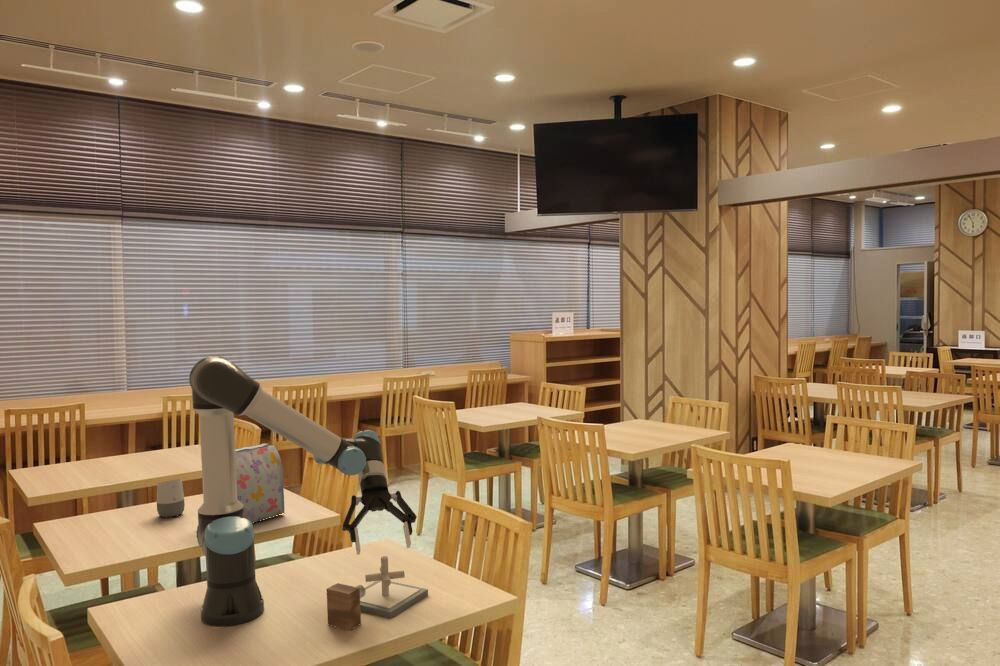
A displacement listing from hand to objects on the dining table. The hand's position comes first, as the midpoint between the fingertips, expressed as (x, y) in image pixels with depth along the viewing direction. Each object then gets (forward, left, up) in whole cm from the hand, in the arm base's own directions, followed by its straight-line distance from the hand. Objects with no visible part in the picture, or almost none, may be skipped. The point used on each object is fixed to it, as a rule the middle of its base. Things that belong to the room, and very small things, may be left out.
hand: (384, 549), depth 203 cm
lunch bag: (+31, +87, -12) cm, 93 cm away
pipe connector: (-4, -3, -11) cm, 12 cm away
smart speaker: (+22, +118, -12) cm, 121 cm away
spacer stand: (-9, -3, -12) cm, 15 cm away
